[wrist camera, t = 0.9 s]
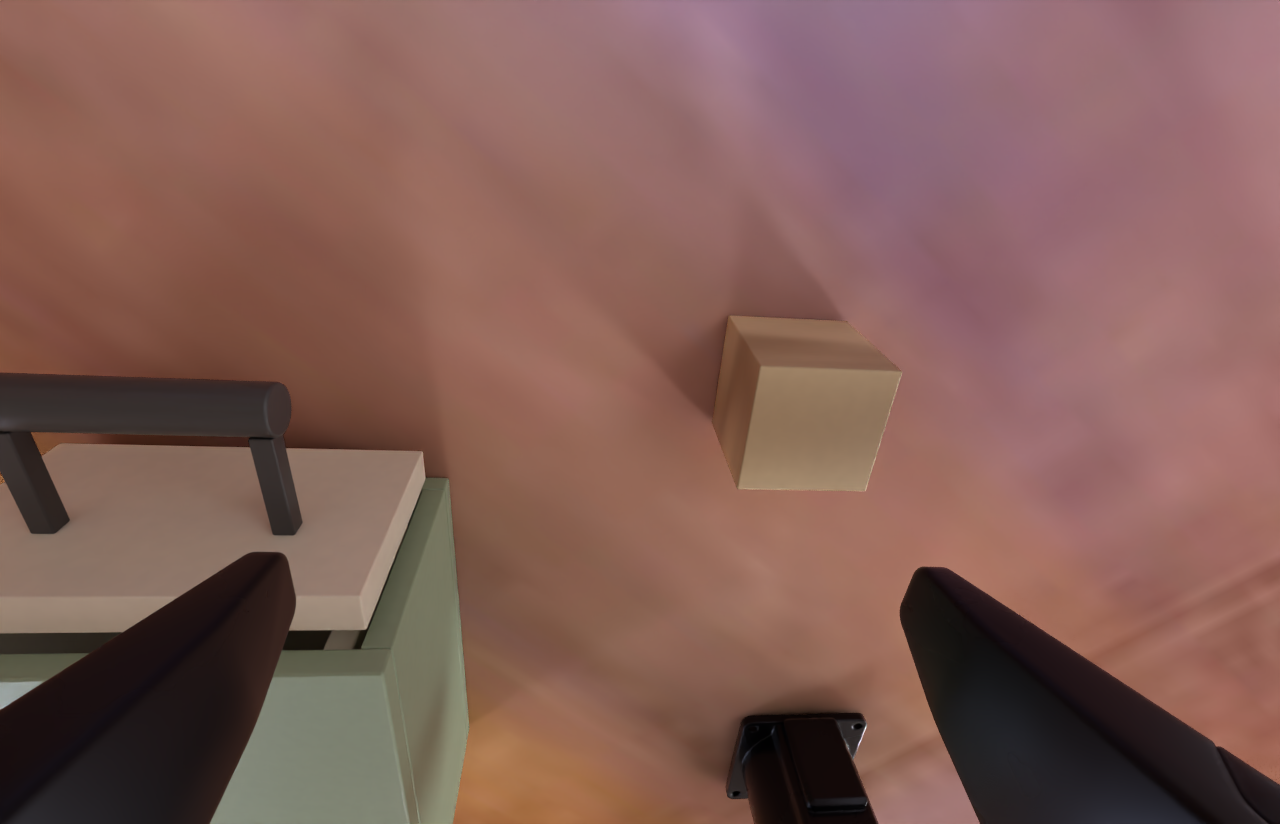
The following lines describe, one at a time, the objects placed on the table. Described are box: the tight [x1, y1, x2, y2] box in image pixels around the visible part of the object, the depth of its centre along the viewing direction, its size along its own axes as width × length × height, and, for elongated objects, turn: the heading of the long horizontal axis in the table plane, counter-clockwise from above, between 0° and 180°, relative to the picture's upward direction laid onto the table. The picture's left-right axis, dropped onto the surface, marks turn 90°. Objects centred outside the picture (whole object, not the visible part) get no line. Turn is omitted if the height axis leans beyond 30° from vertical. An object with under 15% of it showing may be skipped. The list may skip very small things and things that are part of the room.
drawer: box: [0, 373, 426, 654], centre depth 20 cm, size 18×11×7 cm, turn 175°
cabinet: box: [0, 478, 469, 824], centre depth 22 cm, size 15×13×9 cm
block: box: [712, 315, 902, 491], centre depth 20 cm, size 4×4×4 cm
